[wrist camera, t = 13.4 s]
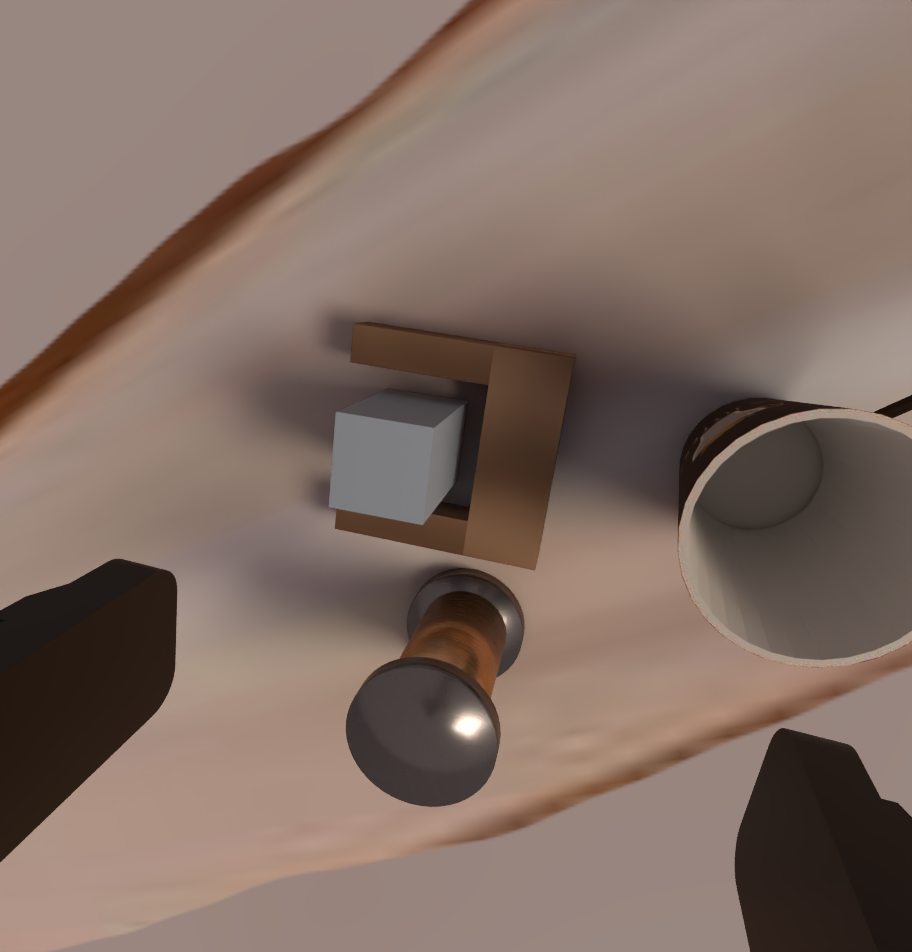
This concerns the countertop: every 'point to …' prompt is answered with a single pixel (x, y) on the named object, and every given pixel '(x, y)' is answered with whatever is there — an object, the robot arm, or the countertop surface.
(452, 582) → the bobbin
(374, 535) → the u-shaped bracket
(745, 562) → the coffee mug
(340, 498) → the grey rectangular block
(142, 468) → the countertop surface
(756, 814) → the robot arm
